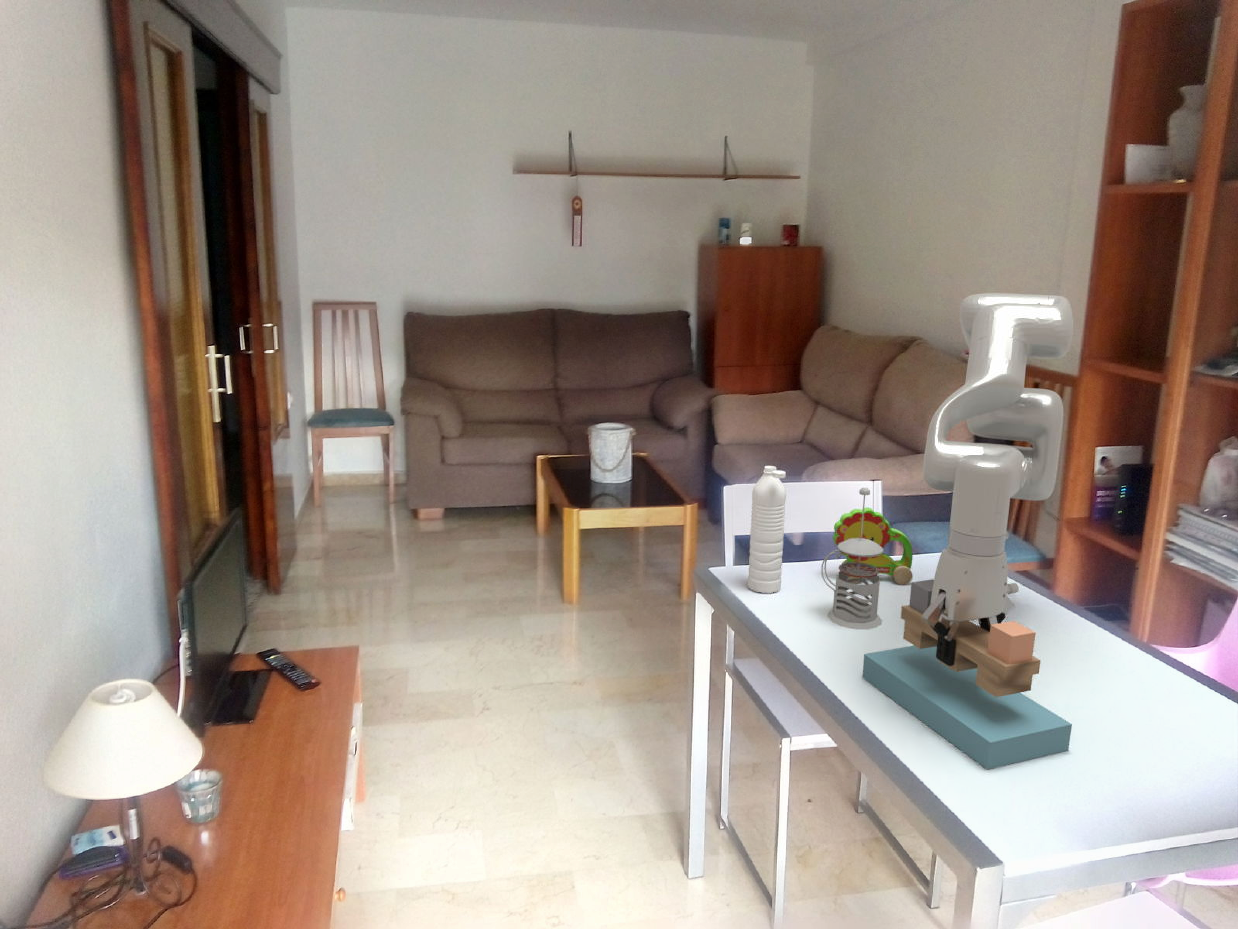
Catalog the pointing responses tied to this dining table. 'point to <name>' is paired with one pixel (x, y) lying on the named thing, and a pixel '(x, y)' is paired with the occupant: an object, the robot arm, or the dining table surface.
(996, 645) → the pink cube
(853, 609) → the french press
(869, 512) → the toy lion
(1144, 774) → the dining table surface
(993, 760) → the block
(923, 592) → the block
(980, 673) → the pallet
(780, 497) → the water bottle
